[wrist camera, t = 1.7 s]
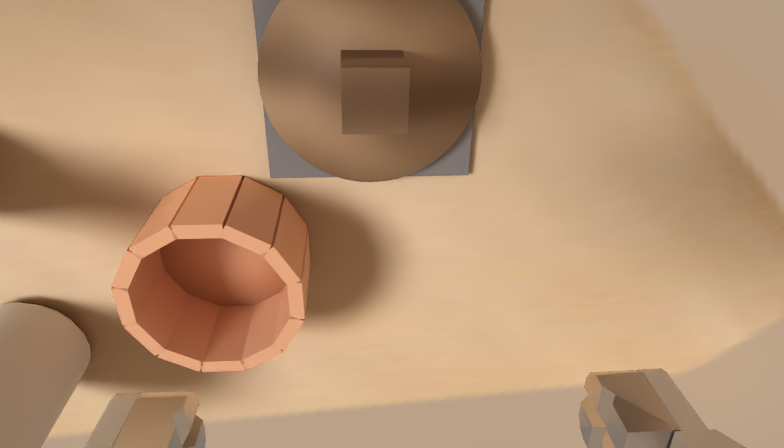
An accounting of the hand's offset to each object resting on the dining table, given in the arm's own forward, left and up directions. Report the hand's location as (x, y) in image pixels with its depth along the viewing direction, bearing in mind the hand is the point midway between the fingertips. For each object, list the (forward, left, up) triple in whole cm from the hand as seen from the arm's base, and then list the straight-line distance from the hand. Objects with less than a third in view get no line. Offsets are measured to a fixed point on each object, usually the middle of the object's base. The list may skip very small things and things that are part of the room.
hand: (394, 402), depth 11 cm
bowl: (+10, -9, -22) cm, 25 cm away
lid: (-1, 0, -22) cm, 22 cm away
